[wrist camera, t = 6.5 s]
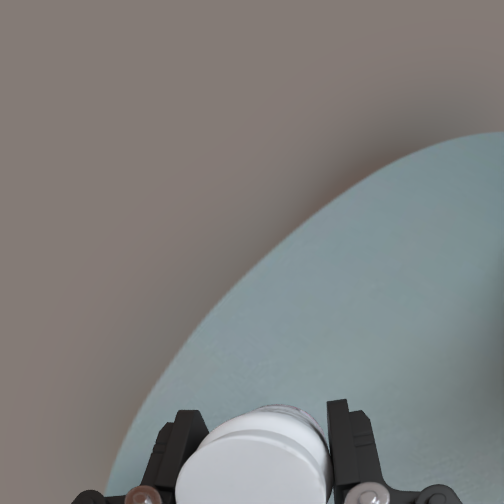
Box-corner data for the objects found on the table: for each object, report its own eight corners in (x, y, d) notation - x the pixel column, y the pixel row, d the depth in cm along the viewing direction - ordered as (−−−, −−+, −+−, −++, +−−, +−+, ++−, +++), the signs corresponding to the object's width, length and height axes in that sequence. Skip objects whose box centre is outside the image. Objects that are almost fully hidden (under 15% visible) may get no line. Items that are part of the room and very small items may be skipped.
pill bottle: (278, 505, 13) (245, 592, 5) (212, 445, 14) (128, 486, 7) (346, 444, 13) (379, 498, 6) (278, 384, 15) (244, 383, 8)
